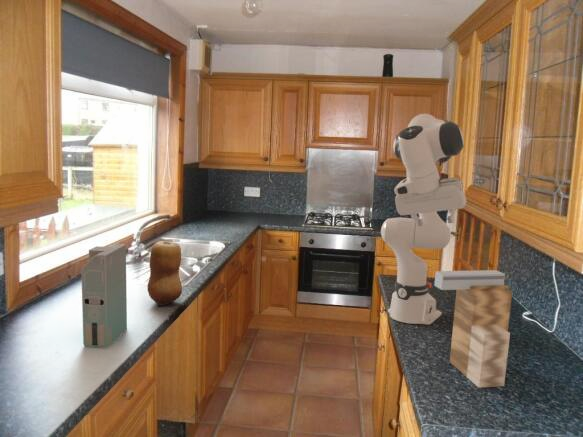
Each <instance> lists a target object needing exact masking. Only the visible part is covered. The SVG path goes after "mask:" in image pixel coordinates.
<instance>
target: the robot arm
mask: <svg viewBox="0 0 583 437" xmlns="http://www.w3.org/2000/svg"><path fill="white" fill-rule="evenodd" d="M464 140H465V139H464V133H463V132H462V129H461V128H460V126H459V124H457V123H455V122H453V121H449V120H445V119H439V118H436V117H435V116H434V115H432V114H429V113H420V114H417V115H416V116H414V117H413V118H411V120H410V122H409V123H408V125H407V127H405V128H403V129H402V130H400V132H398V134H396V136H395V138H394V141H393V145H392V148H393V149H392V150H393V153H394V156H395V158H396V159H399V161H400V163H402V164H403V166H404V167H405V168H404V169H405V170H406V178H404V179H402V180H400V182H398V184H396V186H395V187H394V190H393V191H394V194H395V195H396V196H395V198H394V202H395V207H396V211H397V214H398V215H400V216H409V215H410V218H409V217H390V218H387V219H385V221H384V222H383V223H382V226H381V227H380V228H381V229H380V235H381V238H382V240H383V241H384V243H385V244H387V246H388V247H389V248H390V249H391V250H392V252H393V253H394V256H395V258H396V263H397V264H396V265H397V268H396V269H397V270H396V271H397V272H396V273H397V274H396V280H395V283H394V292H393V293H392V296H391V302H390V307H389V308H388V309H387V312H388V314H389V316H390V318H391V319H392V320H394V321H397V322H400V323H406V324H410V325H411V324H413V325H418V324H419V325H431V324H432V323H434V322H435V321H436V320H437V319H438V318H439V317H441V316H442V311H441V310H438V309H437V301H436V299H435V298H434V296H432V295H431V294H430V293H429V289H432V286H433V285H432V282H428V281H427V278H428V277H427V276H428V263H427V262H426V260H424V259H423V258H422V257H420V256H418V255H417V254H416V253H414V251H413V249H414V248H415V249H425V250H440V249H445V248H447V246H448V245H449V243H450V242H451V239H452V231H451V229H450V227H449V225H448V224H454V223H455V217H454V216H455V212H456V210H460V209H464V207H465V205H466V204H467V197H466V194H465V191H464V190H463V189H464V185H463V182H462V180H461V179H459V178H456V177H454V176H453V177H449V178H440V177H441V176H440V174H439V170H438V167H437V165H436V164H437V163H439V167H441V166H442V164H445V163H447V162H448V161H449V160H450V159H451V158H452V157H454V156H458V155H459V154H460V152H462V150H463V148H464V144H465V143H464V142H465V141H464ZM442 211H443V212H444V211H448V212H449V214H450V215H448V216H447V218H446V220H447V223H448V224H447V223H446V222H445V221H444V220H443V219H442V218H441V217H440V215H439V214H438V212H442Z"/></svg>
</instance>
